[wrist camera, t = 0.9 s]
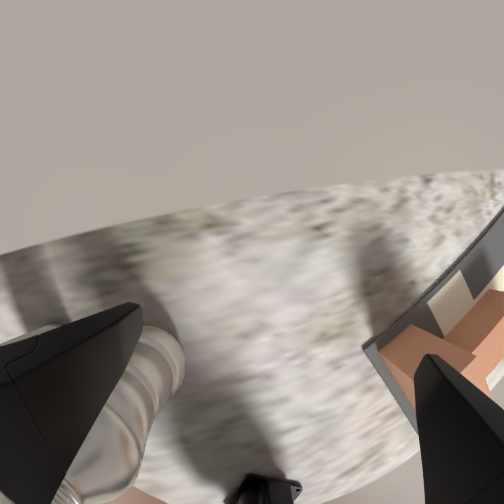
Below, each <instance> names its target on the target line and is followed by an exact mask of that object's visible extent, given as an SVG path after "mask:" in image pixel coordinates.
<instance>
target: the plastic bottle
mask: <svg viewBox="0 0 504 504" xmlns="http://www.w3.org/2000/svg"><path fill="white" fill-rule="evenodd" d="M184 375H185V356H184V352H183V350H182V347H181V346H180V344H179V343H178V341H177V340H176V339H175V338H174V337H173V336H172V335H171V334H169V333H168V332H167V331H165V330H163V329H161V328H157V327H154V326H143V332H142V334H141V337H140V339H139V341H138V343H137V345H136V347H135V350H134V352H133V354H132V356H131V359H130V361H129V363H128V365H127V367H126V369H125V371H124V373H123V375H122V376H121V378H120V380H119V381H118V383H117V385H116V386H115V388H114V390H113V392H112V393H111V395H110V397H109V398H108V400H107V402H106V403H105V405H104V407H103V409H102V410H101V412H100V414H99V416H98V417H97V419H96V421H95V423H94V424H93V426H92V428H91V430H90V431H89V433H88V435H87V437H86V439H85V440H84V442H83V444H82V446H81V448H80V449H79V451H78V453H77V455H76V457H75V459H74V460H73V462H72V464H71V466H70V468H69V470H68V471H67V474H66V476H65V478H64V479H63V481H62V483H61V485H60V487H59V489H58V491H57V493H56V495H55V497H54V499H53V501H52V503H51V504H101V503H104V502H107V501H110V500H113V499H115V498H117V497H119V496H120V495H122V494H123V493H124V492H125V491H127V490H128V489H129V488H130V487H131V486H132V485H133V484H134V483H135V481H136V478H137V476H138V473H139V470H140V468H141V463H142V459H143V455H144V450H145V446H146V442H147V437H148V434H149V431H150V429H151V426H152V424H153V421H154V419H155V417H156V414H157V413H158V412H159V410H160V409H161V408H162V406H163V405H164V403H165V402H166V401H167V400H169V399H170V398H171V397H172V396H173V395H174V393H175V392H176V391H177V390H178V389H179V387H180V386H181V384H182V382H183V379H184Z"/></svg>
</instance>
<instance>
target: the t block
mask: <svg viewBox="0 0 504 504" xmlns="http://www.w3.org/2000/svg"><path fill="white" fill-rule="evenodd" d="M378 353H379V354H380V356H381V357H382V359H383V360H384V362H385V364H386V365H387V367H388V368H389V370H390V372H391V373H392V375H393V376H394V378H395V380H396V381H397V383H398V384H399V386H400V388H401V389H402V391H403V392H404V394H405V396H406V397H407V399H408V401H409V402H410V404H411V406H412V407H413V409H414V411H415V412H416V409H415V393H414V374H415V371H416V369H417V367H418V366H419V364H420V362H421V360H422V358H423V356H424V355H425V354H427V353H428V354H437V355H438V356H440V357H441V358H442V359H443V360H445V361H446V362H447V363H448V364H450V365H451V366H452V367H453V368H454V369H456V370H457V371H458V372H459V373H461V374H462V375H463V376H464V377H465V378H467V379H468V380H469V381H470V382H471V383H473V384H474V385H475V386H476V387H477V388H479V389H480V390H481V391H482V392H483V393H485V394H486V395H487V396H488V397H489V398H491V399H492V397H491V395H490V391H489V388H488V385H487V382H486V379H485V378H486V377H487V376H488V375H489V374H490V373H491V371H492V370H493V369H494V368H495V367H496V366H497V365H498V363H499V362H500V361H501V360H502V359H503V358H504V292H503V291H498V290H492V289H488V291H487V292H486V293H485V294H484V295H483V296H482V298H481V299H480V300H479V301H478V302H477V303H476V304H475V305H474V307H473V308H472V309H471V310H470V311H469V312H468V313H467V314H466V315H465V316H464V317H463V318H462V320H461V321H460V322H459V323H458V324H457V325H456V326H455V327H454V328H453V329H452V330H451V331H450V332H449V333H448V334H447V335H446V336H445V337H444V338H443V339H441V338H439V337H437V336H435V335H433V334H431V333H429V332H426V331H424V330H422V329H420V328H418V327H416V326H414V325H412V324H410V325H409V326H408V327H407V328H405V329H404V330H403V331H402V332H401V333H400V334H398V335H397V336H396V337H395V338H394V339H393V340H391V341H390V342H389V343H388V344H387V345H385V346H384V347H383V348H382V349H381V350H379V351H378Z"/></svg>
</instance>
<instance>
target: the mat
mask: <svg viewBox="0 0 504 504" xmlns="http://www.w3.org/2000/svg"><path fill="white" fill-rule="evenodd" d="M488 289H492V290H498V291H503V292H504V211H503V212H502V213H501V215H500V216H499V217H498V218H497V219H496V221H495V222H494V223H493V224H492V225H491V227H490V228H489V229H488V230H487V231H486V232H485V234H484V235H483V236H482V237H481V238H480V239H479V240H478V242H477V243H476V244H475V245H474V246H473V247H472V248H471V249H470V250H469V252H468V253H467V254H466V255H465V256H464V257H463V258H462V259H461V260H460V261H459V262H458V263H457V264H456V265H455V266H454V267H453V268H452V270H451V271H450V272H449V273H448V274H447V275H446V276H445V277H444V278H443V279H442V280H441V281H440V282H439V283H438V284H437V285H436V286H434V287H433V288H432V289H431V290H430V291H429V292H428V293H427V294H426V295H425V296H424V297H423V298H422V299H421V300H420V301H419V302H418V303H417V304H415V305H414V306H413V307H412V308H411V309H410V310H409V311H408V312H407V313H405V314H404V315H403V316H402V317H401V318H400V319H399V320H398V321H396V322H395V323H394V324H393V325H392V326H391V327H389V328H388V329H387V330H386V331H385V332H383V333H382V334H381V335H380V336H379V337H377V338H376V339H375V340H374V341H373V342H371V343H370V344H369V345H368V346H366V347H365V348H364V349H363V351H364V352H365V354H366V355H367V357H368V358H369V360H370V361H371V363H372V364H373V366H374V367H375V369H376V371H377V372H378V374H379V375H380V377H381V378H382V380H383V381H384V383H385V384H386V386H387V387H388V389H389V390H390V392H391V393H392V395H393V397H394V398H395V400H396V401H397V403H398V404H399V406H400V407H401V409H402V411H403V412H404V414H405V415H406V417H407V418H408V420H409V422H410V423H411V425H412V426H413V428H414V429H415V431H416V433H417V434H418V428H417V421H416V412H415V411H414V409H413V407H412V406H411V404H410V402H409V401H408V399H407V397H406V396H405V394H404V392H403V391H402V389H401V388H400V386H399V384H398V383H397V381H396V380H395V378H394V376H393V375H392V373H391V372H390V370H389V368H388V367H387V365H386V364H385V362H384V360H383V359H382V357H381V356H380V354H379V353H378V351H379V350H381V349H382V348H383V347H384V346H385V345H387V344H388V343H389V342H390V341H391V340H393V339H394V338H395V337H396V336H397V335H398V334H400V333H401V332H402V331H403V330H404V329H405V328H407V327H408V326H409V325H410V324H412V325H414V326H416V327H418V328H420V329H422V330H424V331H426V332H429V333H431V334H433V335H435V336H437V337H439V338H441V339H443V338H444V337H445V336H446V335H447V334H448V333H449V332H450V331H451V330H452V329H453V328H454V327H455V326H456V325H457V324H458V323H459V322H460V321H461V320H462V318H463V317H464V316H465V315H466V314H467V313H468V312H469V311H470V310H471V309H472V308H473V307H474V305H475V304H476V303H477V302H478V301H479V300H480V299H481V298H482V296H483V295H484V294H485V293H486V292H487V291H488Z"/></svg>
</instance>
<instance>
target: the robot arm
mask: <svg viewBox="0 0 504 504" xmlns="http://www.w3.org/2000/svg"><path fill="white" fill-rule="evenodd" d="M142 332H143V315H142V307H141V305H139V304H136V303H132V302H127V303H124V304H122V305H119V306H116V307H113V308H111V309H108V310H105V311H102V312H99V313H97V314H94V315H91V316H88V317H85V318H83V319H80V320H77V321H74V322H71V323H69V324H66V325H63V326H60V327H57V328H55V329H52V330H49V331H46V332H43V333H41V334H40V335H39V334H38V335H35V336H32V337H29V338H26V339H23V340H20V341H17V342H14V343H10V344H7V345H3V346H0V504H51V503H52V501H53V499H54V497H55V495H56V493H57V491H58V489H59V487H60V485H61V483H62V481H63V479H64V478H65V476H66V474H67V471H68V470H69V468H70V466H71V464H72V462H73V460H74V459H75V457H76V455H77V453H78V451H79V449H80V448H81V446H82V444H83V442H84V440H85V439H86V437H87V435H88V433H89V431H90V430H91V428H92V426H93V424H94V423H95V421H96V419H97V417H98V416H99V414H100V412H101V410H102V409H103V407H104V405H105V403H106V402H107V400H108V398H109V397H110V395H111V393H112V392H113V390H114V388H115V386H116V385H117V383H118V381H119V380H120V378H121V376H122V375H123V373H124V371H125V369H126V367H127V365H128V363H129V361H130V359H131V356H132V354H133V352H134V350H135V347H136V345H137V343H138V341H139V339H140V337H141V334H142ZM414 393H415V409H416V421H417V428H418V435H419V443H420V450H421V459H422V468H423V478H424V490H425V491H424V492H425V504H504V410H503V409H502V408H501V407H500V406H499V405H498V404H496V403H495V402H494V401H493V400H492V399H491V398H489V397H488V396H487V395H486V394H485V393H483V392H482V391H481V390H480V389H479V388H477V387H476V386H475V385H474V384H473V383H471V382H470V381H469V380H468V379H467V378H465V377H464V376H463V375H462V374H461V373H459V372H458V371H457V370H456V369H454V368H453V367H452V366H451V365H450V364H448V363H447V362H446V361H445V360H443V359H442V358H441V357H440V356H438V355H437V354H428V353H427V354H425V355H424V356H423V358H422V360H421V362H420V364H419V366H418V367H417V369H416V371H415V374H414ZM250 478H251V479H250ZM302 490H303V489H302V486H301V485H296V484H291V483H287V482H282V481H278V480H274V479H269V478H265V477H261V476H258V475H254V474H247V475H246V476H245V477H244V479H243V480H242V482H241V483H240V485H239V486H238V488H237V489H236V491H235V492H234V493H233V495H232V496H231V498H230V499H229V501H228V502H227V503H226V504H294V501H295V499H296V498H297V497H298V496H299V494H300V493H301V492H302Z"/></svg>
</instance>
